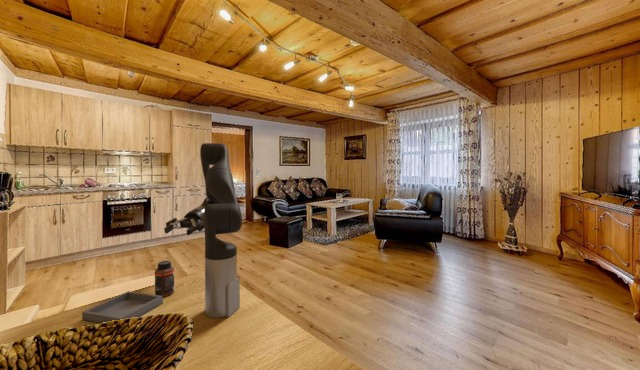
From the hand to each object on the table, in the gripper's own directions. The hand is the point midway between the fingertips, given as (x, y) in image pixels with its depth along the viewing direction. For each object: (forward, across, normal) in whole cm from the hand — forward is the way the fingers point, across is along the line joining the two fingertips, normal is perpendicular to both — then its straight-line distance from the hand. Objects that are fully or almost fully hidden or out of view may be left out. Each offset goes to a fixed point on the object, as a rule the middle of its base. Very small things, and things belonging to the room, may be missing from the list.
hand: (176, 231), depth 100 cm
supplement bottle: (+12, +2, +18) cm, 22 cm away
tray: (+24, -3, +16) cm, 29 cm away
